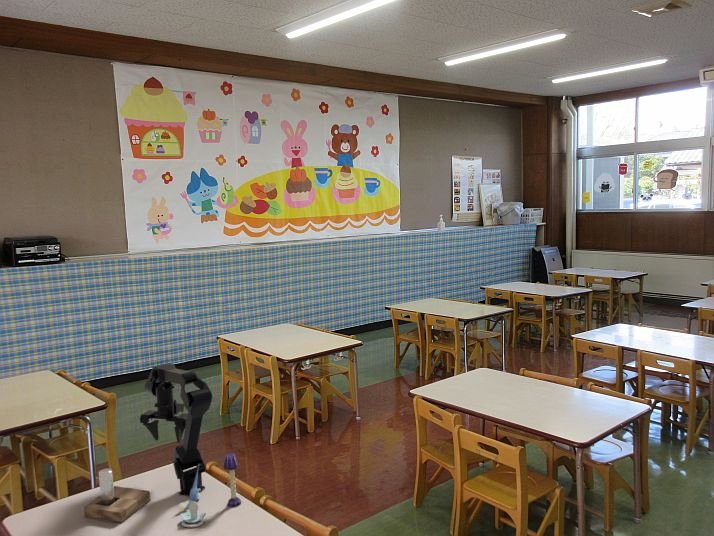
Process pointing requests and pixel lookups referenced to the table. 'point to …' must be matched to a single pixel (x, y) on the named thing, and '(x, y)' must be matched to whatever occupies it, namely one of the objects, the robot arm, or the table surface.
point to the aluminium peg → (106, 487)
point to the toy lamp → (232, 478)
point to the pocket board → (118, 505)
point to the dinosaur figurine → (191, 495)
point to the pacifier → (192, 516)
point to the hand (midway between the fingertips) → (168, 441)
